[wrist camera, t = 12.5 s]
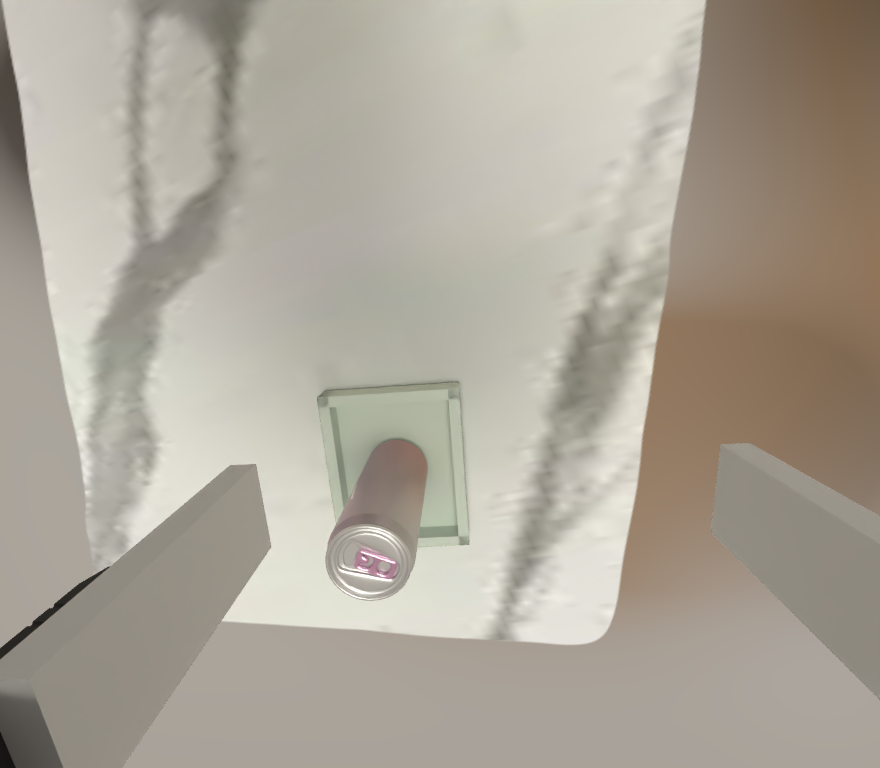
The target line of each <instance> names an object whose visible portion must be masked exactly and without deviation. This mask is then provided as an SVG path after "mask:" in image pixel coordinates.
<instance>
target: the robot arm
mask: <svg viewBox="0 0 880 768" xmlns="http://www.w3.org/2000/svg"><path fill="white" fill-rule="evenodd" d="M711 533H712V534H713V535H714V536H715V537H716V538H717V539H718V540H719V541H720V542H721V543H722V544H723V545H724V546H725V547H727V549H728V550H729V551H730V552H731V553H732V554H733V555H734V556H735V557H736V558H737V559H738V560H739V561H740V562H741V563H742V564H743V565H744V566H746V568H747V569H748V570H749V571H750V572H752V574H753V575H755V576H756V577H757V578H758V579H759V580H760V581H761V582H762V583H763V584H764V585H765V586H766V587H767V588H768V589H769V590H770V591H771V592H772V593H773V594H774V595H775V596H776V597H777V598H778V599H779V600H780V601H781V602H782V603H783V604H784V605H785V606H786V607H787V608H788V609H789V610H790V611H791V612H792V613H793V614H794V615H795V616H796V617H797V618H798V619H799V620H800V621H801V622H802V623H803V624H804V625H805V626H806V627H807V628H808V629H809V630H810V631H811V632H812V633H813V634H814V635H815V636H816V637H817V638H818V639H819V640H820V641H821V642H822V643H823V644H824V645H825V646H826V647H827V648H828V649H829V650H830V651H831V652H832V653H833V654H834V655H835V656H836V657H838V659H839V660H840V661H841V662H842V663H844V665H845V666H846V667H847V668H848V669H849V670H850V671H851V672H852V673H853V674H854V675H855V676H856V677H857V678H858V679H859V680H860V681H861V682H862V683H863V684H864V685H865V686H866V687H868V689H869V690H870V691H872V692H873V693H874V694H875V695H876V696H877V697H878V698H879V699H880V516H879V515H877V514H875V513H873V512H871V511H870V510H868V509H866V508H864V507H862V506H861V505H859V504H857V503H855V502H853V501H852V500H850V499H848V498H846V497H845V496H843V495H841V494H839V493H837V492H836V491H834V490H832V489H830V488H828V487H826V486H825V485H823V484H821V483H820V482H818V481H816V480H814V479H813V478H811V477H809V476H807V475H805V474H804V473H802V472H800V471H798V470H797V469H795V468H793V467H791V466H789V465H788V464H786V463H784V462H782V461H780V460H778V459H777V458H775V457H773V456H772V455H770V454H768V453H766V452H764V451H763V450H761V449H759V448H757V447H756V446H754V445H752V444H750V443H741V444H721V448H720V456H719V465H718V474H717V482H716V491H715V499H714V508H713V516H712V525H711ZM270 548H271V543H270V537H269V532H268V526H267V521H266V516H265V510H264V505H263V500H262V494H261V489H260V483H259V478H258V473H257V467H256V464H249V465H230V466H229V467H228V468H226V469H225V470H224V471H223V472H222V473H220V474H219V475H218V476H217V477H216V478H215V479H213V480H212V481H211V482H210V483H209V484H207V485H206V486H205V487H204V488H203V489H202V490H200V491H199V492H198V493H197V494H196V495H194V496H193V497H192V498H191V499H190V500H189V501H187V502H186V503H185V504H184V505H183V506H181V507H180V508H179V509H178V510H177V511H175V512H174V513H173V514H172V515H171V516H170V517H168V518H167V519H166V520H165V521H164V522H162V523H161V524H160V525H159V526H158V527H157V528H155V529H154V530H153V531H152V532H151V533H149V534H148V535H147V536H146V537H145V538H144V539H142V540H141V541H140V542H139V543H138V544H136V545H135V546H134V547H133V548H132V549H130V550H129V551H128V552H127V553H126V554H125V555H123V556H122V557H121V558H120V559H119V560H117V561H116V562H115V563H114V564H113V565H112V566H110V567H107V568H105V569H104V570H102V571H100V572H99V573H97V574H95V575H93V576H92V577H90V578H88V579H87V580H85V581H83V582H81V583H80V584H78V585H77V586H76V587H74V589H72V590H71V591H70V592H68V593H67V594H66V595H65V596H63V597H62V598H61V599H60V600H59V601H57V602H56V603H55V604H54V607H53V608H51V609H50V608H49V609H48V610H46V611H45V612H44V613H43V614H42V615H41V616H39V617H38V618H37V619H36V620H34V621H33V624H32V625H31V626H27V627H26V628H24V629H23V630H22V631H21V632H20V633H18V634H17V635H16V636H15V637H14V638H12V639H11V640H10V641H9V642H8V643H6V644H5V645H4V646H3V647H1V648H0V768H122V767H123V766H124V764H125V763H126V761H127V760H128V758H129V757H130V755H131V754H132V752H133V751H134V749H135V748H136V746H137V745H138V743H139V742H140V740H141V739H142V738H143V736H144V734H145V733H146V732H147V730H148V729H149V727H150V726H151V724H152V723H153V721H154V720H155V718H156V717H157V715H158V714H159V712H160V711H161V709H162V708H163V706H164V705H165V704H166V702H167V701H168V699H169V698H170V696H171V694H172V693H173V692H174V690H175V688H176V687H177V686H178V684H179V683H180V681H181V680H182V678H183V677H184V675H185V674H186V672H187V671H188V669H189V668H190V666H191V665H192V663H193V662H194V661H195V659H196V658H197V656H198V655H199V653H200V652H201V650H202V649H203V647H204V646H205V644H206V643H207V641H208V640H209V638H210V637H211V635H212V634H213V632H214V631H215V629H216V628H217V626H218V625H219V623H220V622H221V620H222V619H223V618H224V616H225V615H226V613H227V612H228V610H229V609H230V607H231V606H232V604H233V603H234V601H235V600H236V598H237V597H238V595H239V594H240V592H241V591H242V589H243V588H244V586H245V585H246V583H247V582H248V580H249V579H250V578H251V576H252V575H253V573H254V572H255V570H256V569H257V567H258V566H259V564H260V563H261V561H262V560H263V558H264V557H265V555H266V554H267V552H268V551H269V549H270Z"/></svg>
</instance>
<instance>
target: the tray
mask: <svg viewBox="0 0 880 768" xmlns="http://www.w3.org/2000/svg"><path fill="white" fill-rule="evenodd" d="M317 402H318V408H319V415H320V421H321V428H322V435H323V441H324V448H325V455H326V461H327V468H328V475H329V481H330V488H331V495H332V501H333V508H334V515H335V521H336V523H337V521H338V519H339V517H340V515H341V513H342V511H343V509H344V507H345V505H346V503H347V501H348V499H349V497H350V495H351V493H352V491H353V489H354V487H355V485H356V483H357V481H358V479H359V477H360V474H361V472H362V470H363V468H364V466H365V464H366V462H367V460H368V458H369V456H370V454H371V453H372V451H373V450H374V449H375V448H376V447H377V446H378V445H380V444H382V443H384V442H387V441H390V440H402V441H406V442H409V443H411V444H413V445H414V446H416V447H417V448H418V449H419V450H420V451H421V452H422V453H423V455H424V457H425V459H426V461H427V466H428V473H427V480H426V487H425V494H424V501H423V509H422V516H421V523H420V530H419V537H418V544H417V547H432V546H454V545H469V532H468V517H467V502H466V487H465V472H464V457H463V443H462V428H461V413H460V398H459V383H458V382H451V383H436V384H421V385H406V386H391V387H376V388H361V389H345V390H330V391H324V392H323V393H322V394H321V395H320V396H318V397H317Z"/></svg>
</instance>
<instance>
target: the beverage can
mask: <svg viewBox="0 0 880 768" xmlns="http://www.w3.org/2000/svg"><path fill="white" fill-rule="evenodd" d="M427 473H428V466H427V461H426V459H425V457H424V455H423V453H422V452H421V451H420V450H419V449H418V448H417V447H416V446H414V445H413V444H411V443H409V442H406V441H402V440H390V441H387V442H384V443H382V444H380V445H378V446H377V447H376V448H375V449H374V450H373V451H372V453H371V454H370V456H369V458H368V460H367V462H366V464H365V466H364V468H363V470H362V472H361V474H360V477H359V479H358V481H357V483H356V485H355V487H354V489H353V491H352V493H351V495H350V497H349V499H348V501H347V503H346V505H345V507H344V509H343V511H342V513H341V515H340V517H339V519H338V521H337V523H336V526H335V528H334V530H333V532H332V534H331V536H330V538H329V541H328V548H327V552H326V568H327V572H328V574H329V576H330V578H331V580H332V581H333V583H334V584H335V585H336V586H337V587H338V588H339V589H340V590H341V591H343V592H344V593H346V594H347V595H349V596H352V597H354V598H357V599H361V600H371V601H372V600H381V599H385V598H387V597H390V596H392V595H394V594H395V593H397V592H398V591H399V590H400V589H401V588H402V587H403V586H404V585H405V583H406V582H407V580H408V578H409V576H410V573H411V571H412V569H413V567H414V564H415V559H416V552H417V544H418V537H419V530H420V523H421V516H422V509H423V501H424V494H425V487H426V480H427Z"/></svg>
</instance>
